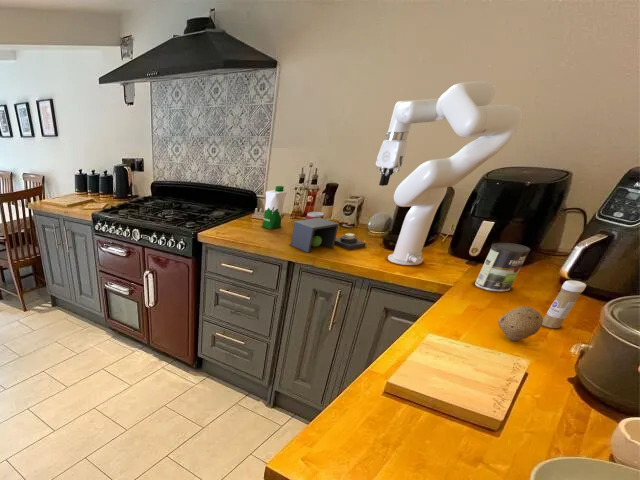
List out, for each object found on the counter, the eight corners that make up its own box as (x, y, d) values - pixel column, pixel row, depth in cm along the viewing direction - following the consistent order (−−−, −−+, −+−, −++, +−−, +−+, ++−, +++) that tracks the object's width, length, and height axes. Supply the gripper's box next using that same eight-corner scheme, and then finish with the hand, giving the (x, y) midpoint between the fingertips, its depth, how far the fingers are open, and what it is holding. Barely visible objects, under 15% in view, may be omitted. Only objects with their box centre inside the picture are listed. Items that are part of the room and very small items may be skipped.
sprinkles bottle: (536, 322, 125) (560, 280, 117) (550, 321, 125) (575, 279, 117) (550, 329, 121) (576, 286, 113) (564, 328, 121) (591, 285, 114)
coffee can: (517, 289, 145) (538, 249, 136) (494, 293, 143) (514, 253, 135) (489, 279, 153) (507, 240, 145) (467, 283, 151) (484, 244, 143)
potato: (484, 336, 120) (500, 304, 114) (503, 329, 123) (520, 298, 117) (519, 350, 113) (538, 317, 108) (538, 342, 116) (558, 310, 110)
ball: (318, 235, 194) (316, 246, 196) (308, 235, 193) (306, 246, 195) (325, 236, 190) (322, 247, 191) (315, 235, 189) (313, 247, 190)
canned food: (316, 233, 210) (321, 211, 203) (321, 238, 203) (326, 215, 197) (301, 234, 211) (305, 211, 204) (305, 238, 204) (309, 215, 198)
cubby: (333, 248, 191) (339, 223, 184) (307, 252, 187) (312, 227, 181) (314, 240, 201) (319, 217, 194) (290, 245, 198) (294, 221, 191)
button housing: (364, 247, 189) (366, 239, 187) (348, 249, 187) (350, 242, 185) (345, 240, 199) (347, 233, 197) (330, 243, 197) (332, 235, 195)
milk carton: (283, 227, 223) (289, 187, 212) (270, 230, 220) (276, 189, 208) (271, 223, 230) (277, 184, 218) (259, 226, 226) (264, 187, 215)
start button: (355, 238, 190) (356, 234, 189) (348, 240, 189) (349, 236, 188) (349, 236, 193) (350, 232, 192) (342, 237, 192) (343, 234, 191)
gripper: (375, 136, 174) (363, 183, 185) (404, 138, 162) (390, 188, 173) (389, 134, 176) (376, 181, 186) (419, 137, 164) (404, 186, 175)
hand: (383, 185), depth 180 cm, fingers closed
